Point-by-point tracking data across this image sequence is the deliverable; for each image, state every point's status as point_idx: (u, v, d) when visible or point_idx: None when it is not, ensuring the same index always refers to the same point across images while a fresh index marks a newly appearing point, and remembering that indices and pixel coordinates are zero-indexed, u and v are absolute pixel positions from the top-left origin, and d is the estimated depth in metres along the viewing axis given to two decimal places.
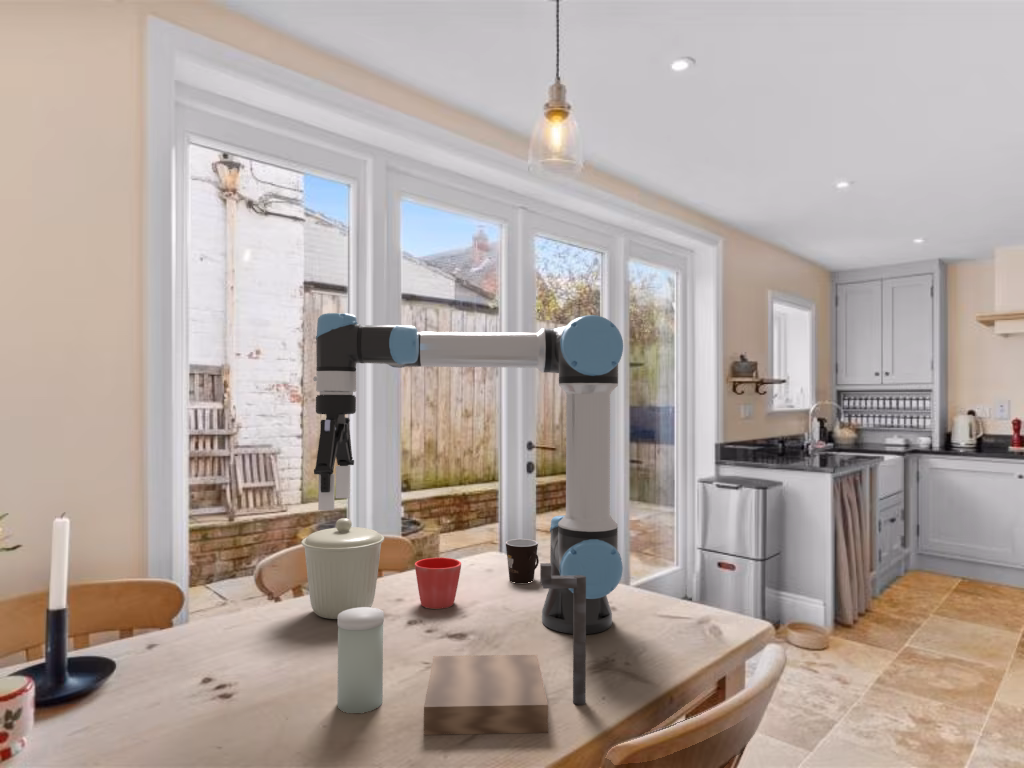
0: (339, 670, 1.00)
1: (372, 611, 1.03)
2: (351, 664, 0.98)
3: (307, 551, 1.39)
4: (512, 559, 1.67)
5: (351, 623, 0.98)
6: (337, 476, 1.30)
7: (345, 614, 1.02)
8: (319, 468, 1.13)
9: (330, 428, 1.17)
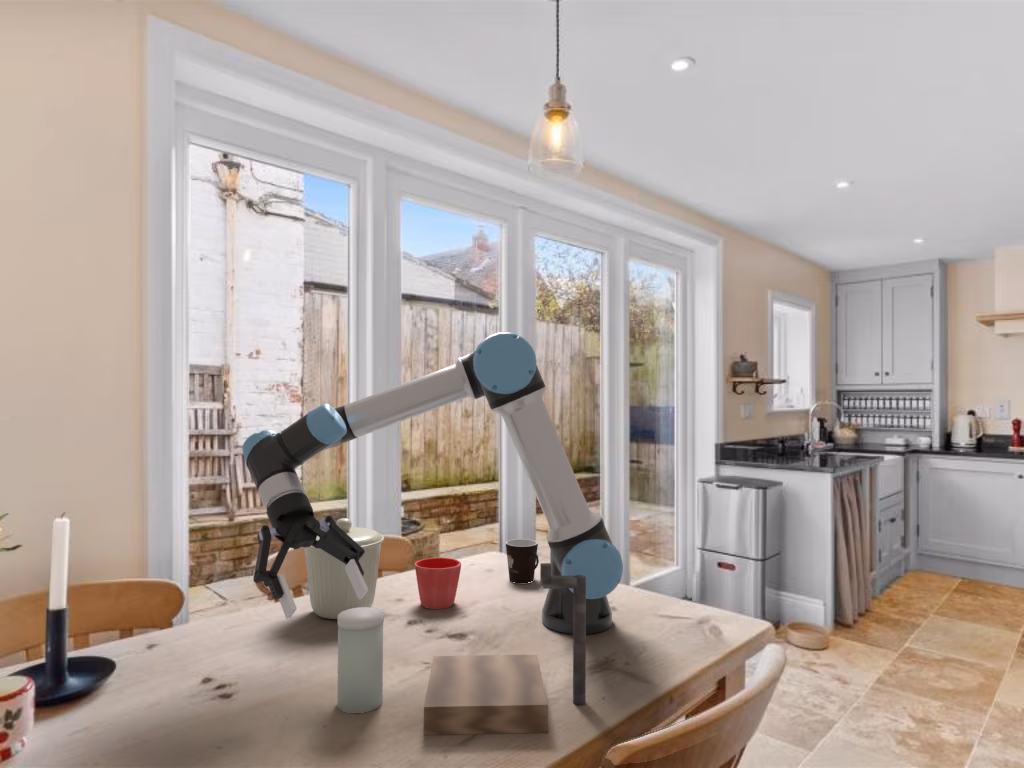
0: (339, 670, 1.00)
1: (372, 611, 1.04)
2: (351, 664, 0.98)
3: (307, 551, 1.39)
4: (512, 559, 1.67)
5: (351, 623, 0.98)
6: (349, 577, 1.15)
7: (345, 614, 1.02)
8: (254, 577, 1.04)
9: (262, 535, 1.09)
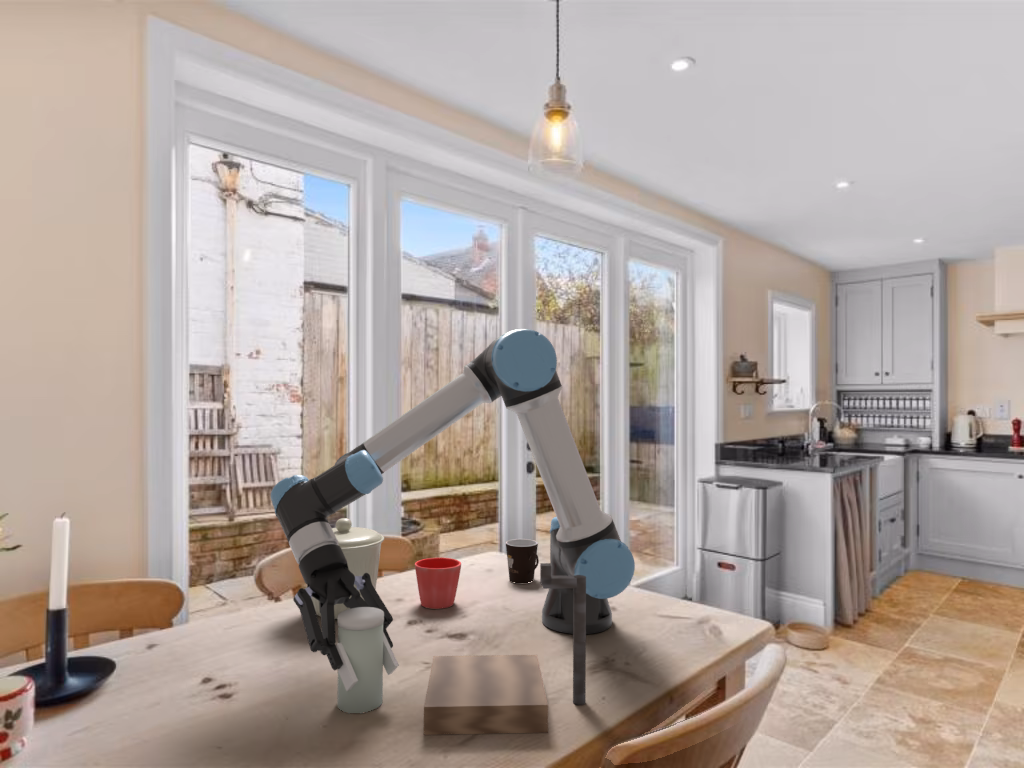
0: None
1: (372, 611, 1.04)
2: (351, 664, 0.98)
3: None
4: (512, 559, 1.67)
5: (351, 622, 0.98)
6: None
7: (345, 614, 1.02)
8: (312, 648, 0.98)
9: (301, 600, 1.02)
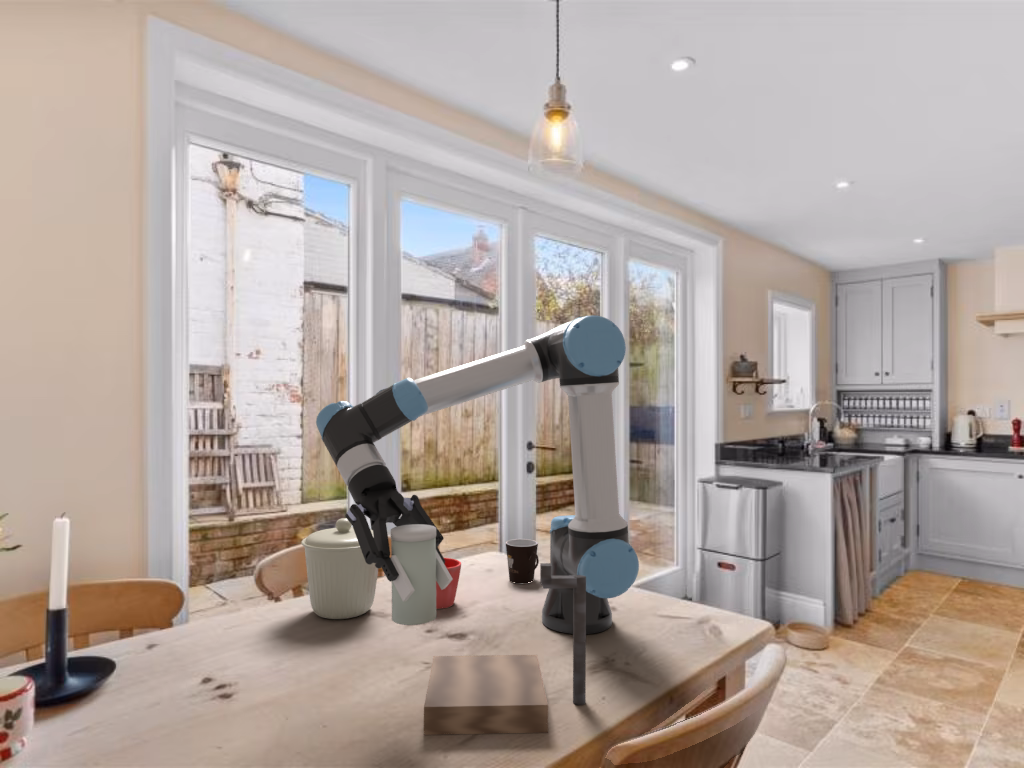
0: None
1: (424, 526, 1.03)
2: None
3: (307, 551, 1.39)
4: (512, 559, 1.67)
5: (406, 534, 0.98)
6: None
7: (397, 529, 1.02)
8: (368, 560, 0.98)
9: (354, 515, 1.02)
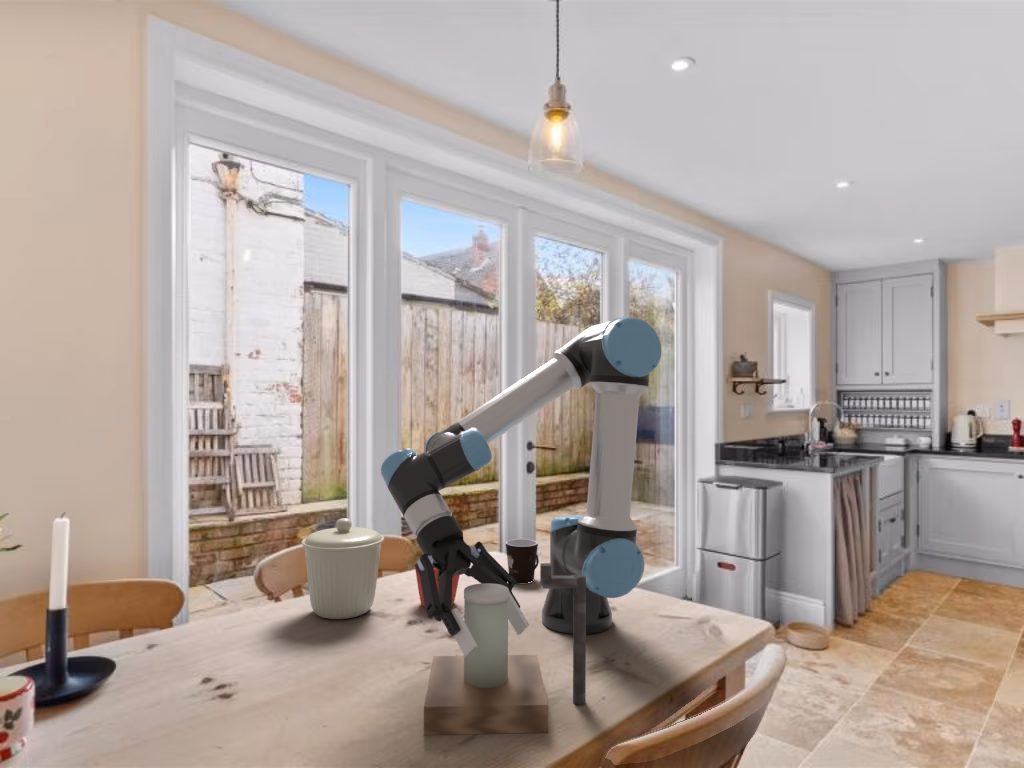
0: None
1: (495, 586, 1.04)
2: (481, 639, 0.98)
3: (307, 551, 1.39)
4: (512, 559, 1.67)
5: (481, 597, 0.98)
6: None
7: (470, 589, 1.02)
8: (428, 612, 0.97)
9: (423, 565, 1.02)
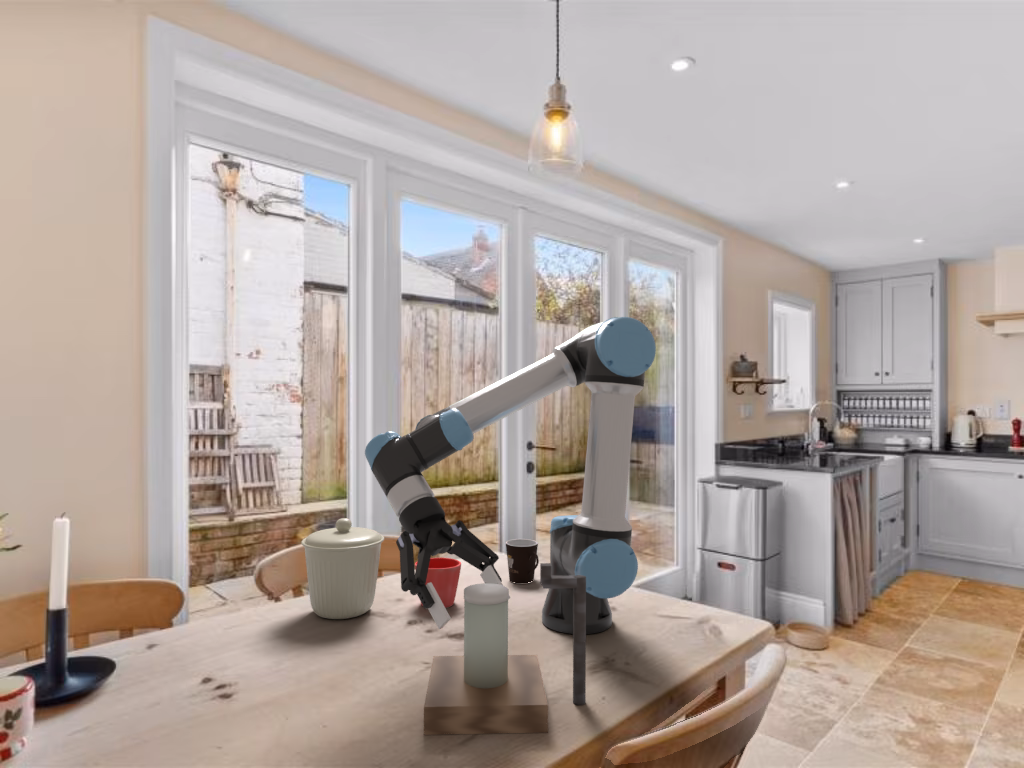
0: (467, 645, 1.00)
1: (495, 587, 1.04)
2: (481, 639, 0.98)
3: (307, 551, 1.39)
4: (512, 559, 1.67)
5: (481, 597, 0.98)
6: None
7: (470, 590, 1.02)
8: (403, 586, 0.99)
9: (403, 541, 1.04)
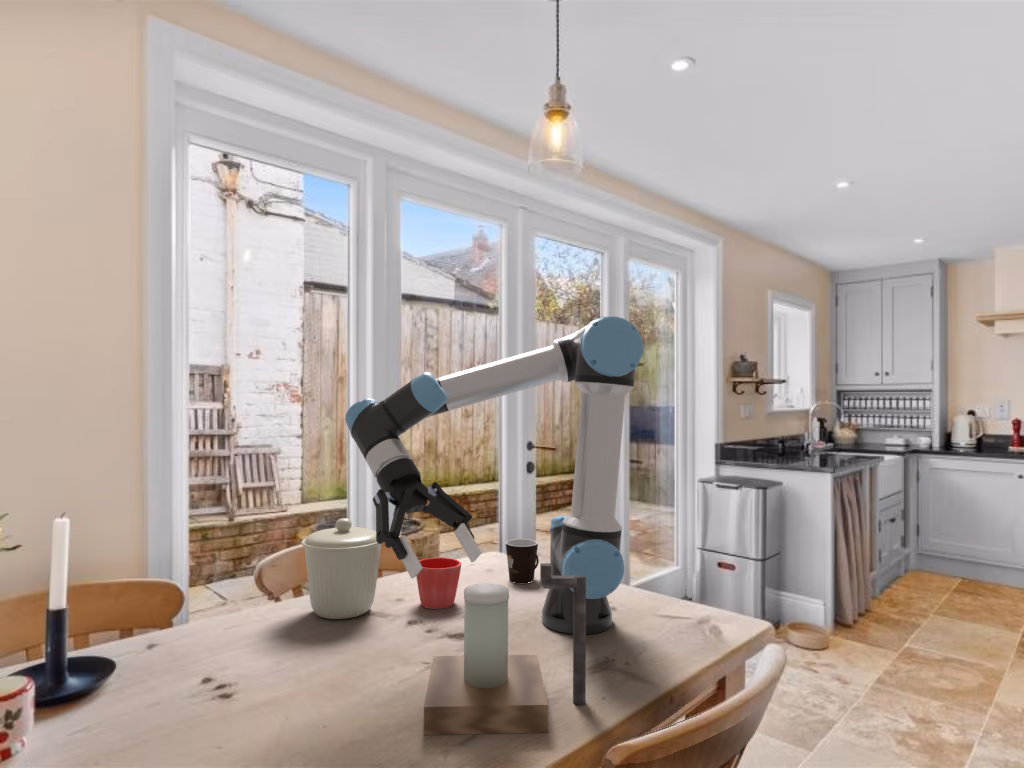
0: (467, 645, 1.00)
1: (495, 587, 1.04)
2: (481, 639, 0.98)
3: (307, 551, 1.39)
4: (512, 559, 1.67)
5: (481, 597, 0.98)
6: (460, 541, 1.16)
7: (470, 590, 1.02)
8: (378, 538, 1.05)
9: (379, 498, 1.10)
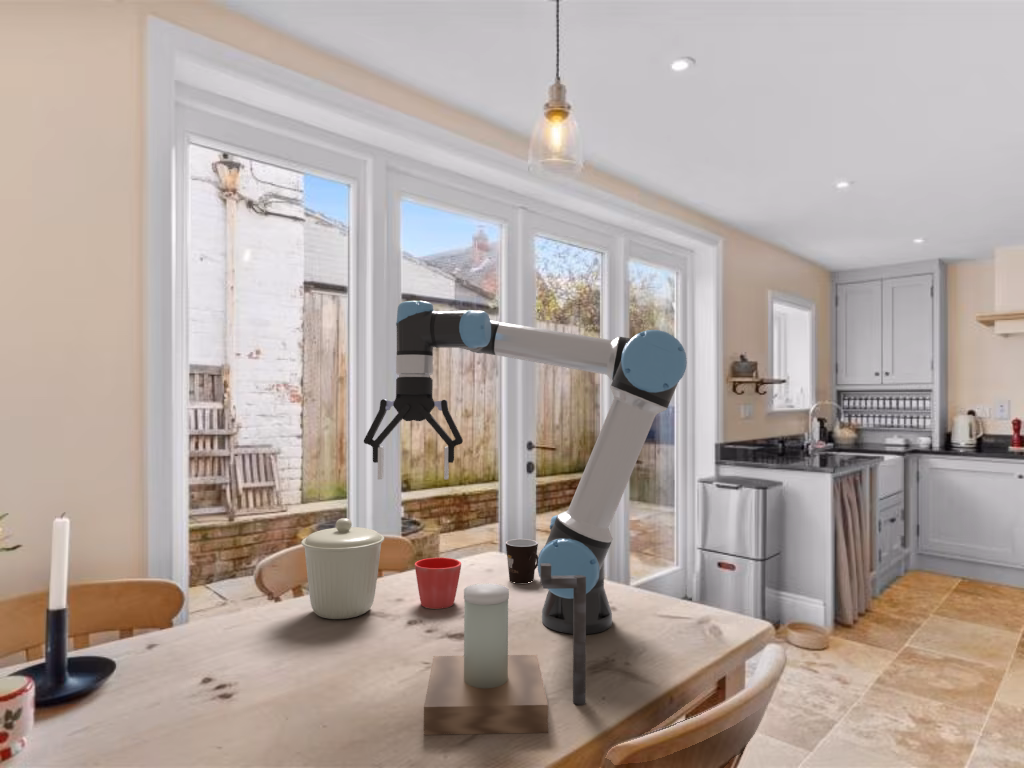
0: (467, 645, 1.00)
1: (495, 586, 1.04)
2: (481, 639, 0.98)
3: (307, 551, 1.39)
4: (512, 559, 1.67)
5: (481, 597, 0.98)
6: None
7: (470, 590, 1.02)
8: None
9: None
